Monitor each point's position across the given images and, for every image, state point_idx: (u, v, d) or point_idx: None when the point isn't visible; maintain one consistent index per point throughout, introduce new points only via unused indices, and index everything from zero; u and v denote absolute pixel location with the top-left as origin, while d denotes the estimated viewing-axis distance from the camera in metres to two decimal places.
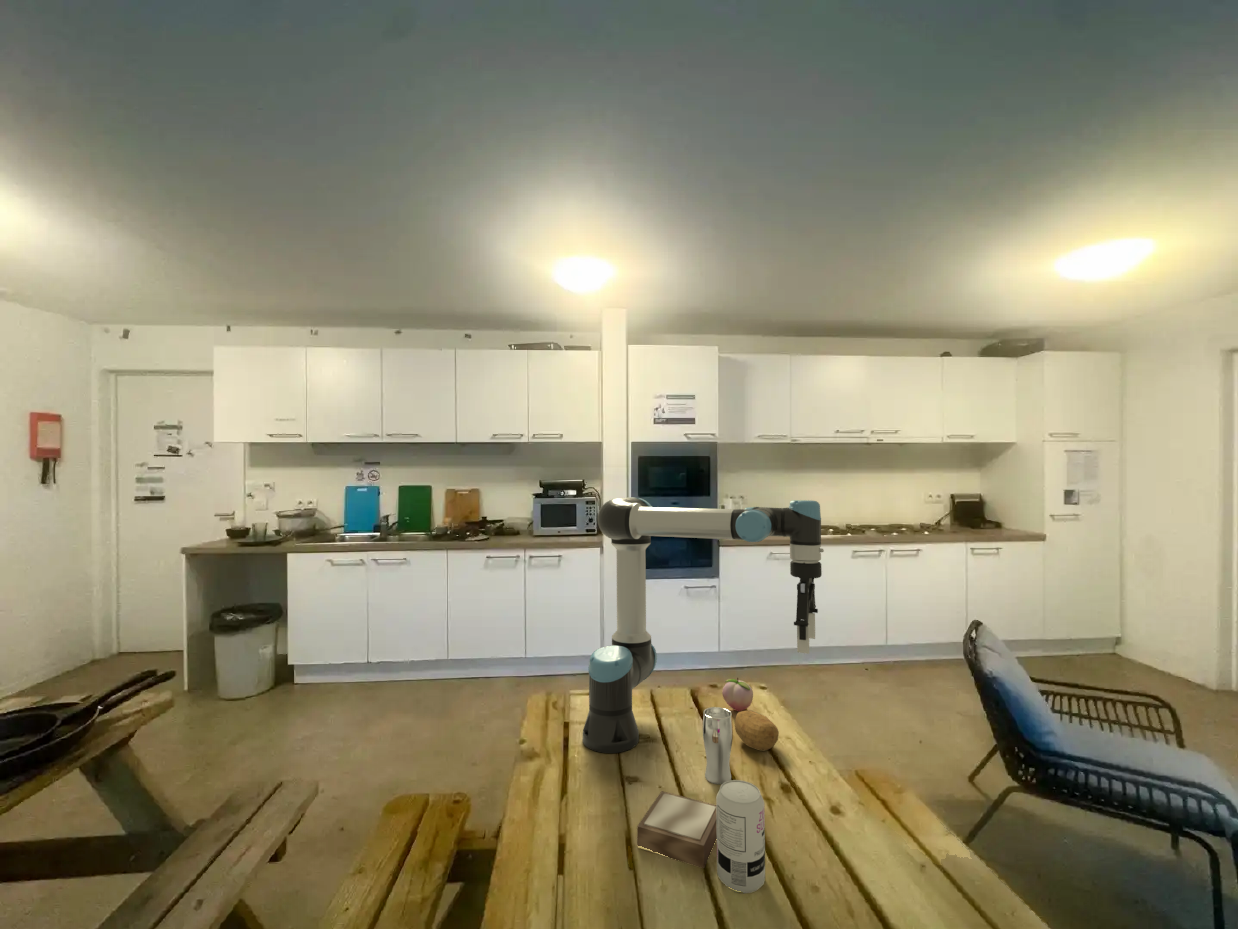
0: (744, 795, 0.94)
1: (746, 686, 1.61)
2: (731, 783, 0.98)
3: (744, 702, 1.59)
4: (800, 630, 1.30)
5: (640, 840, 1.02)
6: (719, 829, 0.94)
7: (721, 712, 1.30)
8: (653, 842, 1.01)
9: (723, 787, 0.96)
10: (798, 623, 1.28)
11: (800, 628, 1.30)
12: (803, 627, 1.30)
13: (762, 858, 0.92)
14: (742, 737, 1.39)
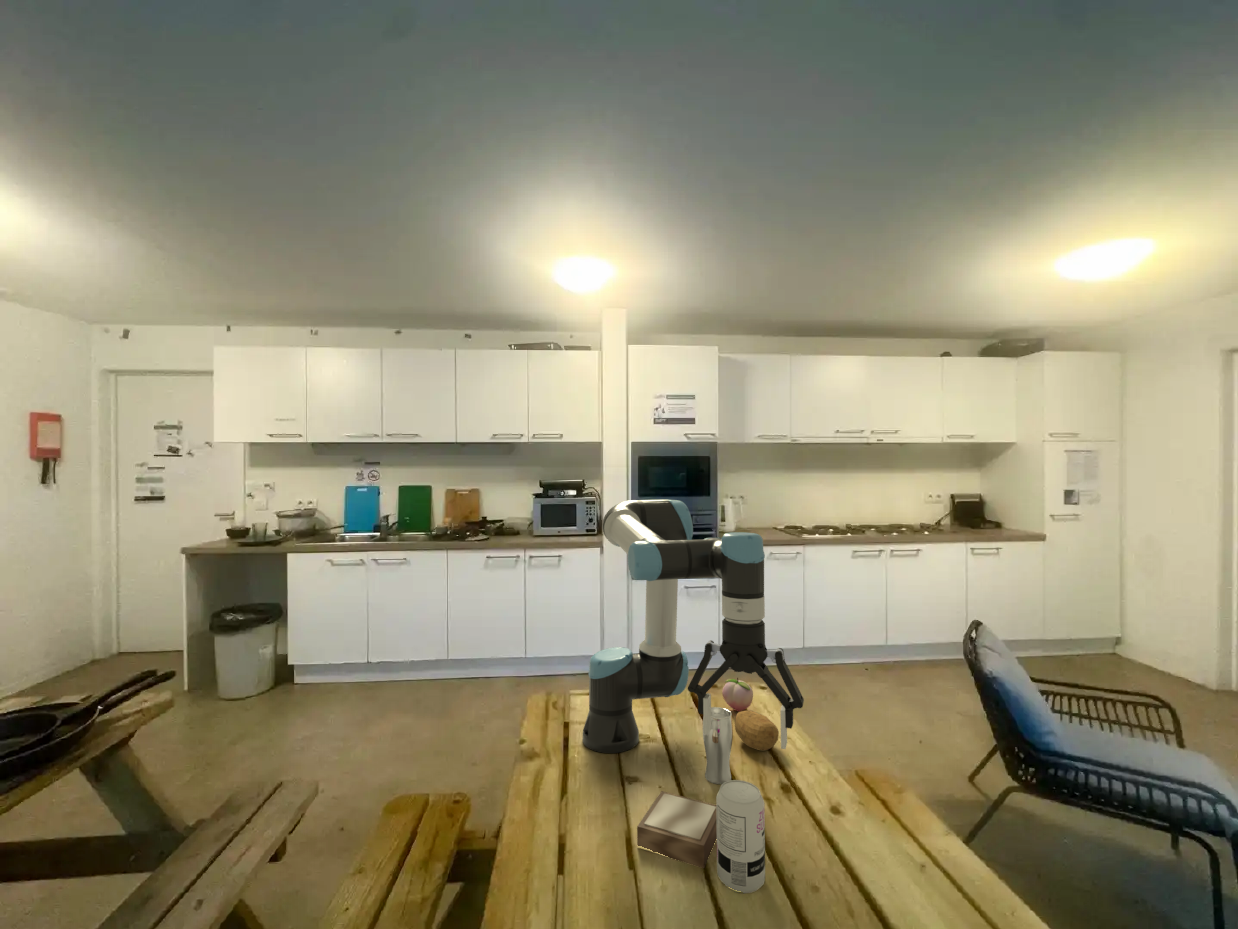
0: (744, 795, 0.94)
1: (746, 686, 1.61)
2: (731, 783, 0.98)
3: (744, 702, 1.59)
4: None
5: (640, 840, 1.02)
6: (719, 829, 0.94)
7: (721, 712, 1.30)
8: (653, 842, 1.01)
9: (723, 787, 0.96)
10: None
11: None
12: None
13: (762, 858, 0.92)
14: (742, 737, 1.39)
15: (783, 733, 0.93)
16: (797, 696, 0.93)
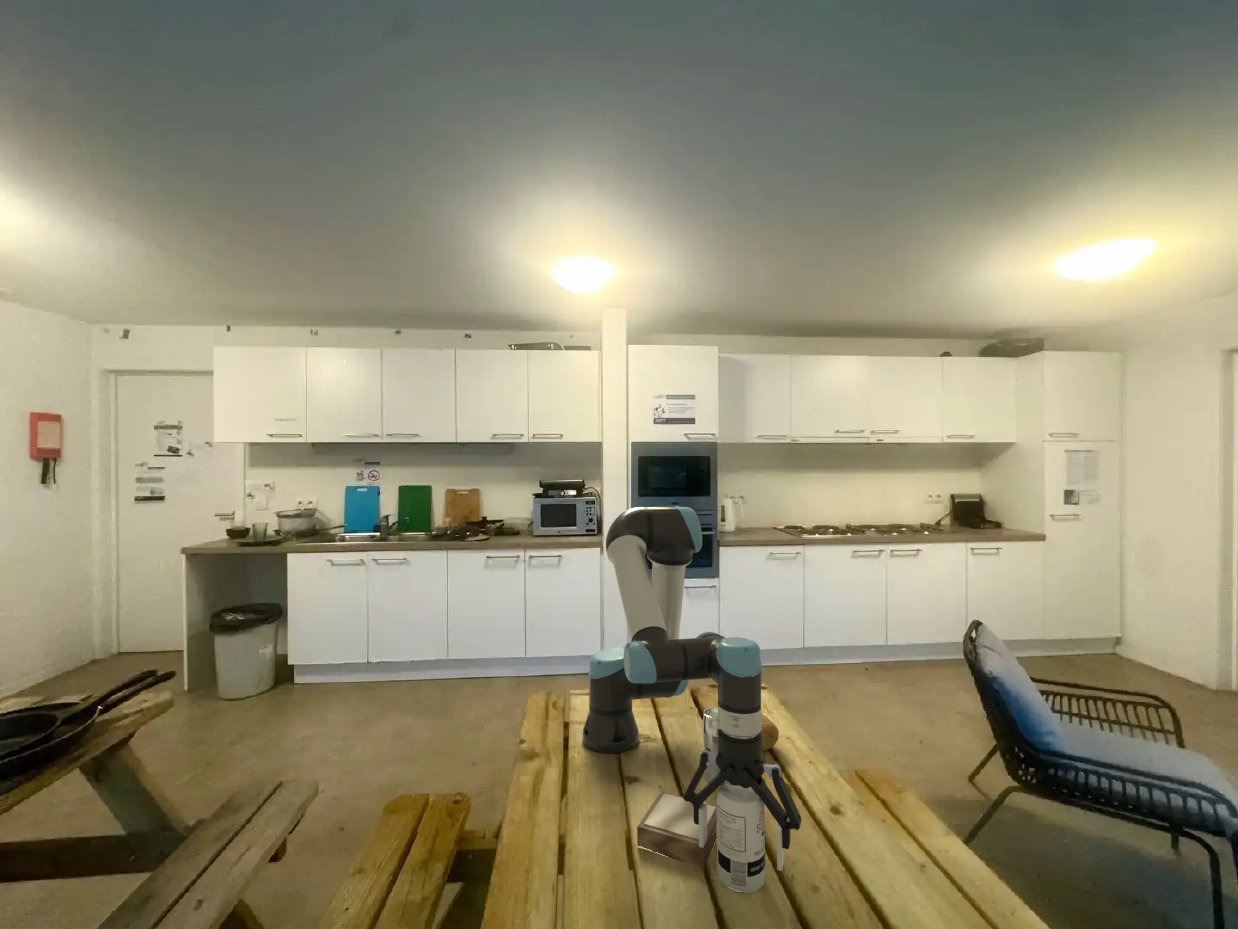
0: (744, 795, 0.94)
1: None
2: None
3: None
4: None
5: (640, 840, 1.02)
6: (719, 829, 0.94)
7: None
8: (653, 842, 1.01)
9: (723, 787, 0.96)
10: None
11: None
12: None
13: (762, 858, 0.92)
14: None
15: (779, 854, 0.90)
16: (794, 817, 0.90)
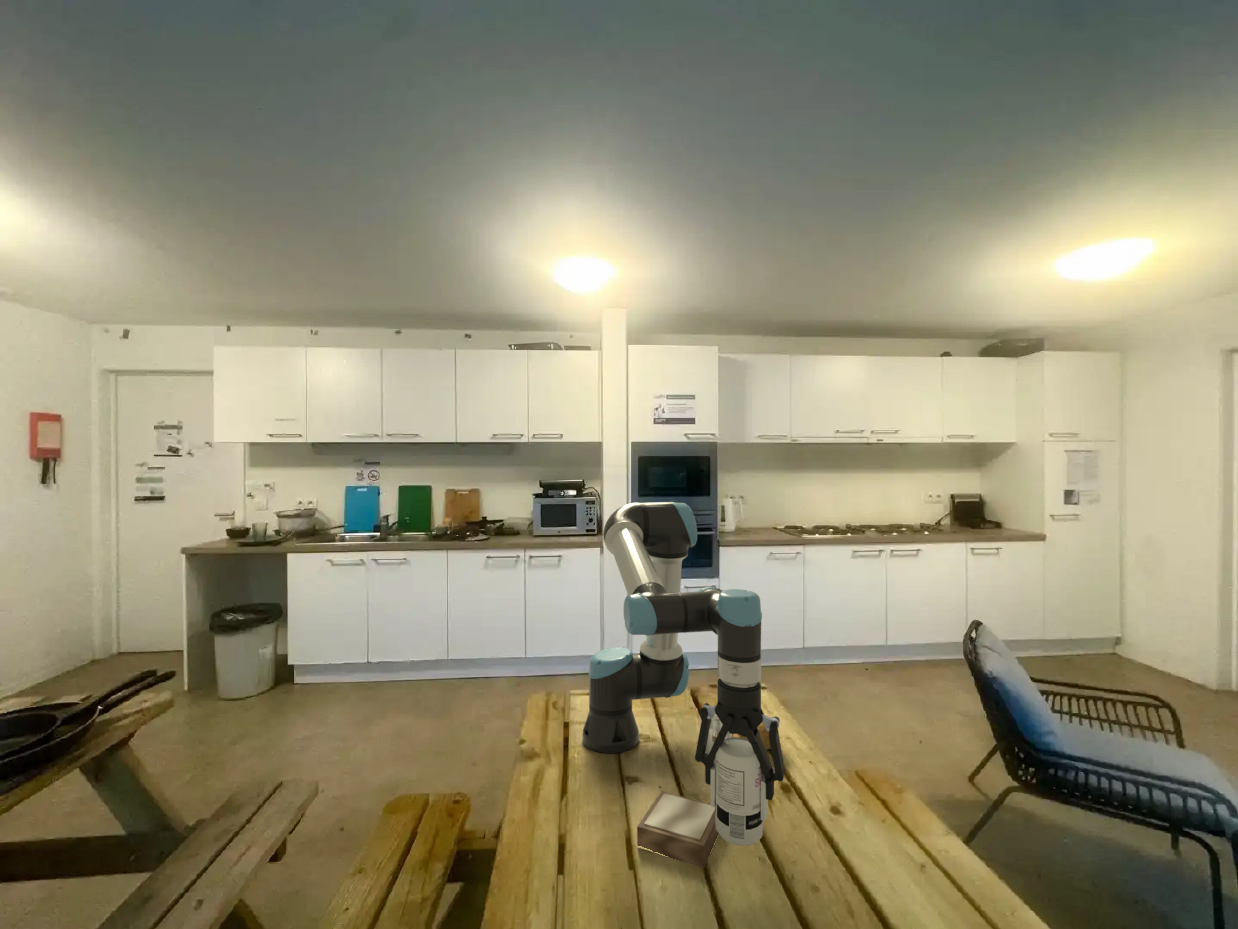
0: (743, 751, 0.94)
1: None
2: (730, 740, 0.98)
3: None
4: None
5: (640, 840, 1.02)
6: (718, 784, 0.94)
7: None
8: (653, 842, 1.01)
9: (722, 743, 0.97)
10: None
11: None
12: None
13: (760, 812, 0.93)
14: (742, 737, 1.39)
15: (763, 805, 0.92)
16: (780, 769, 0.91)
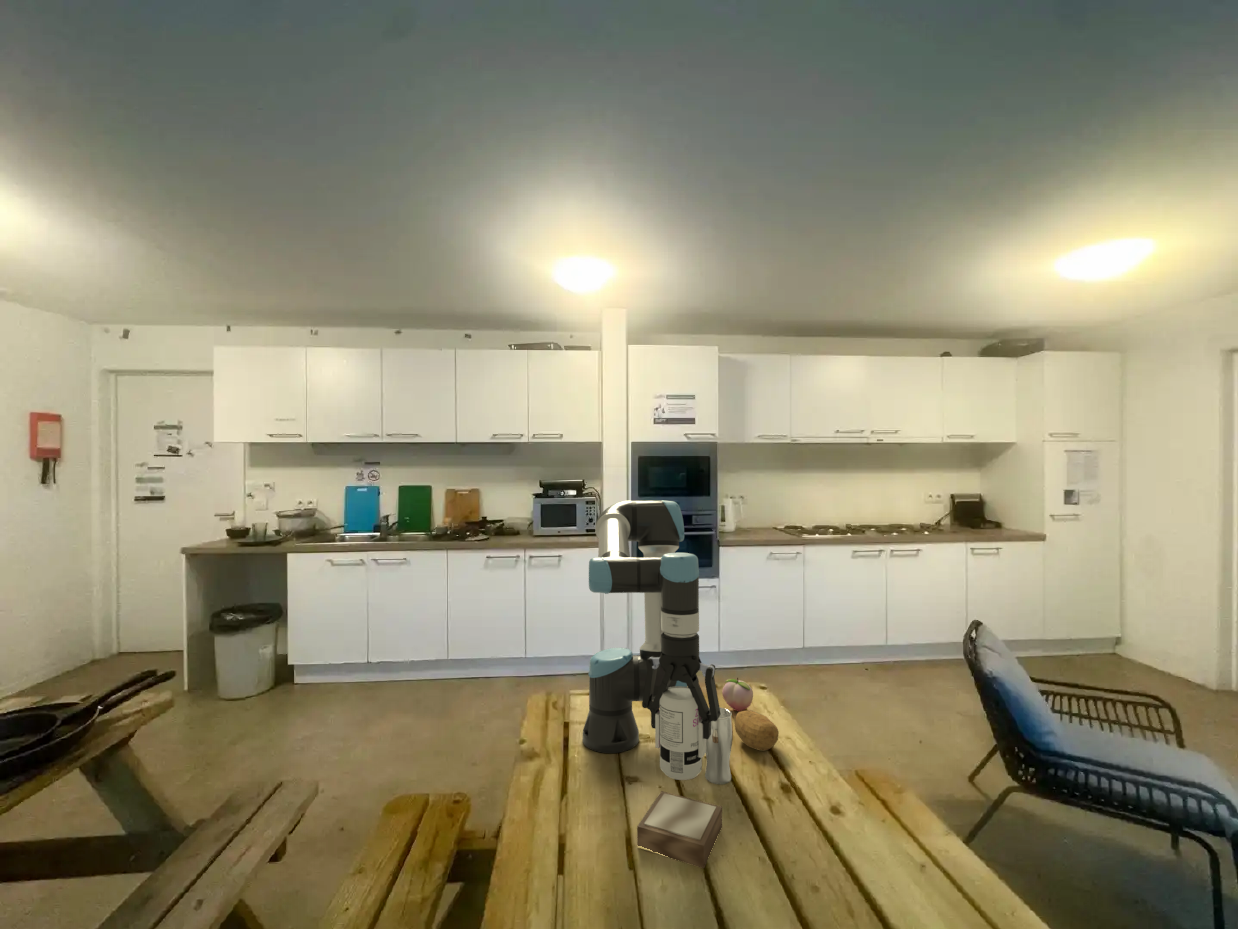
0: (684, 696, 1.05)
1: (746, 686, 1.61)
2: (674, 688, 1.09)
3: (744, 702, 1.59)
4: None
5: (640, 840, 1.02)
6: (661, 726, 1.05)
7: (721, 712, 1.30)
8: (653, 842, 1.01)
9: (666, 691, 1.08)
10: None
11: None
12: None
13: None
14: (742, 737, 1.39)
15: (700, 743, 1.03)
16: (714, 710, 1.02)
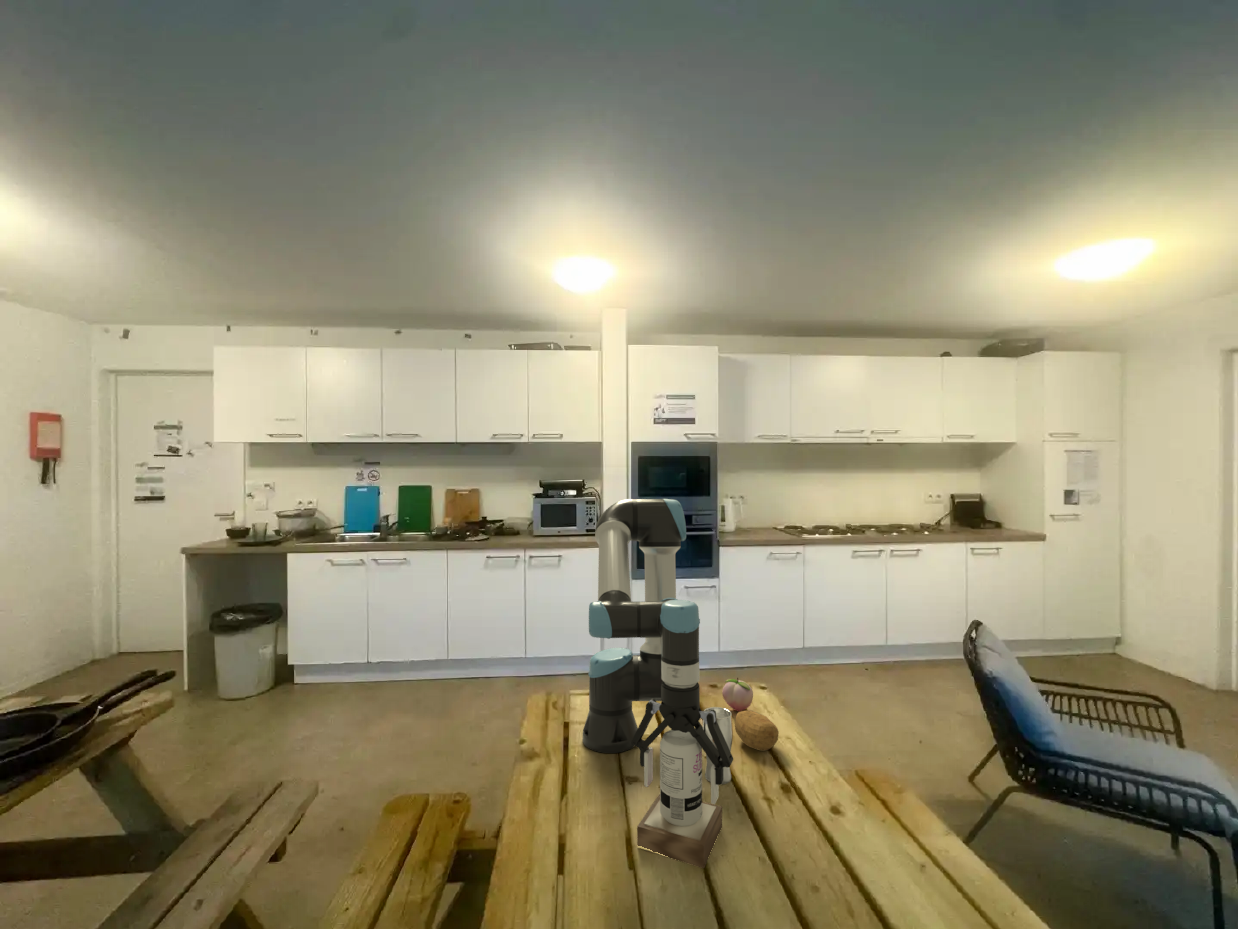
0: (684, 740, 1.05)
1: (746, 686, 1.61)
2: (674, 731, 1.09)
3: (744, 702, 1.59)
4: None
5: (640, 840, 1.02)
6: (661, 771, 1.05)
7: (721, 712, 1.30)
8: (653, 842, 1.01)
9: (666, 734, 1.07)
10: None
11: None
12: None
13: (699, 796, 1.03)
14: (742, 737, 1.39)
15: (713, 789, 1.02)
16: (725, 756, 1.01)
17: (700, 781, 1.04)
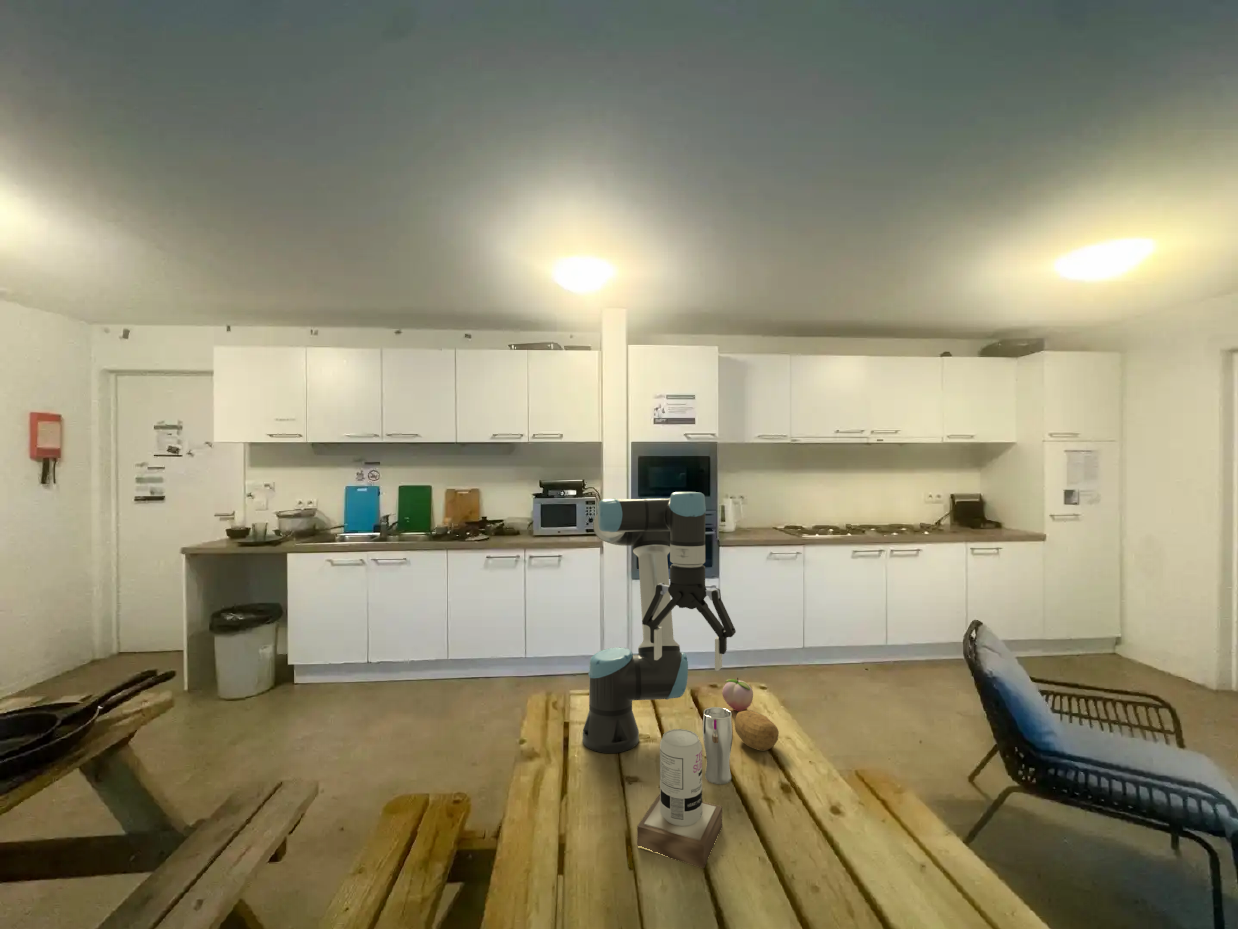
0: (684, 741, 1.05)
1: (746, 686, 1.61)
2: (674, 731, 1.09)
3: (744, 702, 1.59)
4: None
5: (640, 840, 1.02)
6: (661, 771, 1.05)
7: (721, 712, 1.30)
8: (653, 842, 1.01)
9: (666, 734, 1.07)
10: None
11: None
12: None
13: (699, 796, 1.03)
14: (742, 737, 1.39)
15: (717, 658, 1.11)
16: (728, 627, 1.11)
17: (700, 781, 1.04)
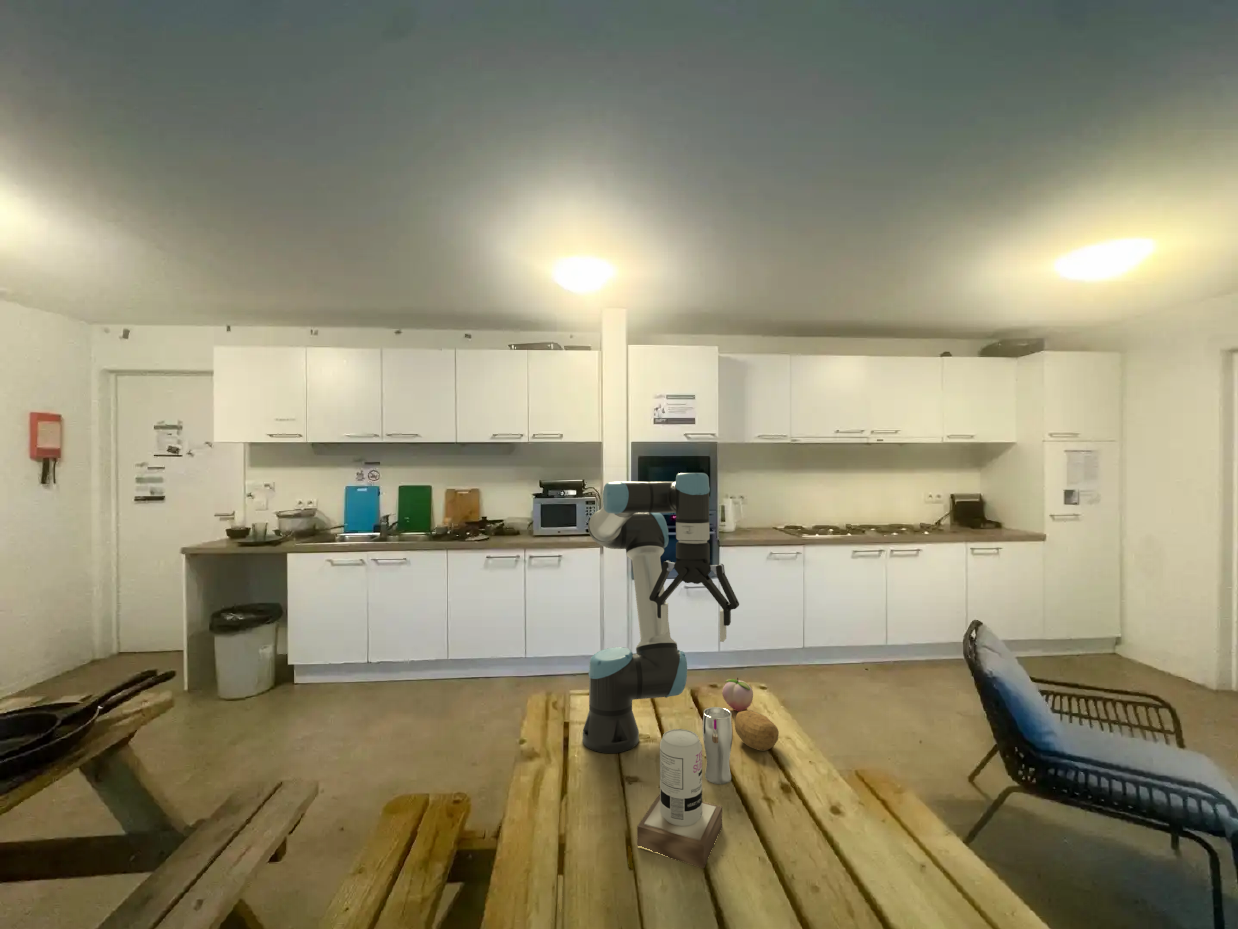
0: (684, 741, 1.05)
1: (746, 686, 1.61)
2: (674, 731, 1.09)
3: (744, 702, 1.59)
4: None
5: (640, 840, 1.02)
6: (661, 771, 1.05)
7: (721, 712, 1.30)
8: (653, 842, 1.01)
9: (666, 734, 1.07)
10: None
11: None
12: None
13: (699, 796, 1.03)
14: (742, 737, 1.39)
15: (721, 629, 1.17)
16: (732, 599, 1.16)
17: (700, 781, 1.04)
